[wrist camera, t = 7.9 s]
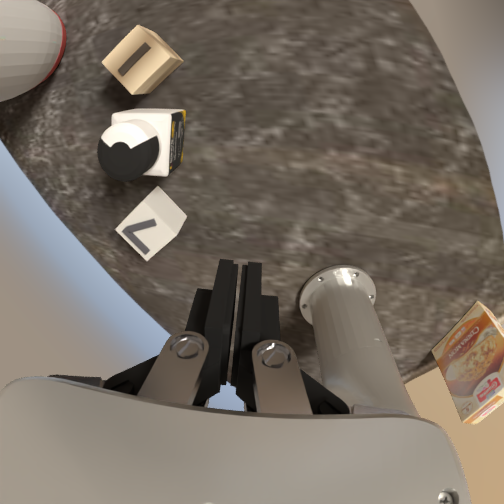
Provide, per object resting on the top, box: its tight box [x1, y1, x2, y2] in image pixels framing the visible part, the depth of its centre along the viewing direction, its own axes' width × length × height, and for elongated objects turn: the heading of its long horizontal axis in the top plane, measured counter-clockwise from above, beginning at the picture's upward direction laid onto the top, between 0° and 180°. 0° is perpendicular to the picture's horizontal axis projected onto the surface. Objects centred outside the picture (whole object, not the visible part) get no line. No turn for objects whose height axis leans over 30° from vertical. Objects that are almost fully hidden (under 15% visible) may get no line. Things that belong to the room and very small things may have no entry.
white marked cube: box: [115, 186, 187, 261], centre depth 40 cm, size 6×6×6 cm
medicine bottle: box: [97, 109, 186, 182], centre depth 32 cm, size 7×7×12 cm
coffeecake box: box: [431, 301, 504, 424], centre depth 44 cm, size 15×7×20 cm, turn 152°
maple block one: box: [102, 25, 184, 95], centre depth 30 cm, size 6×6×6 cm
